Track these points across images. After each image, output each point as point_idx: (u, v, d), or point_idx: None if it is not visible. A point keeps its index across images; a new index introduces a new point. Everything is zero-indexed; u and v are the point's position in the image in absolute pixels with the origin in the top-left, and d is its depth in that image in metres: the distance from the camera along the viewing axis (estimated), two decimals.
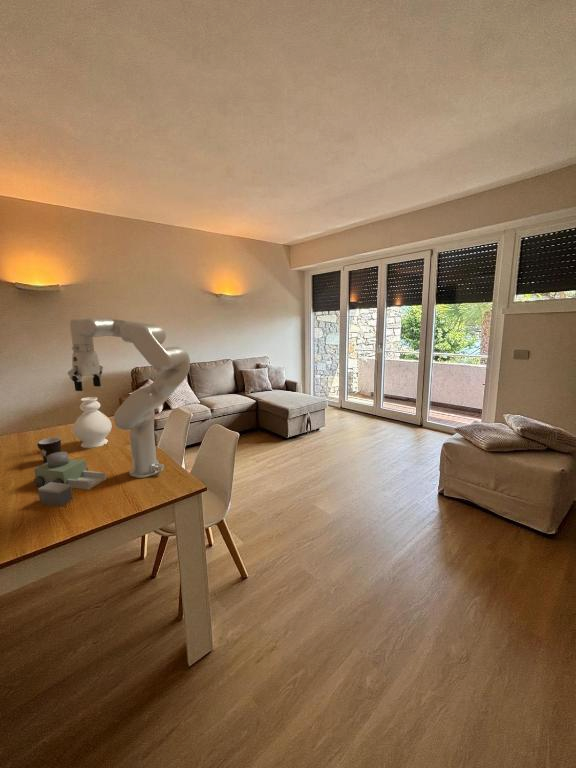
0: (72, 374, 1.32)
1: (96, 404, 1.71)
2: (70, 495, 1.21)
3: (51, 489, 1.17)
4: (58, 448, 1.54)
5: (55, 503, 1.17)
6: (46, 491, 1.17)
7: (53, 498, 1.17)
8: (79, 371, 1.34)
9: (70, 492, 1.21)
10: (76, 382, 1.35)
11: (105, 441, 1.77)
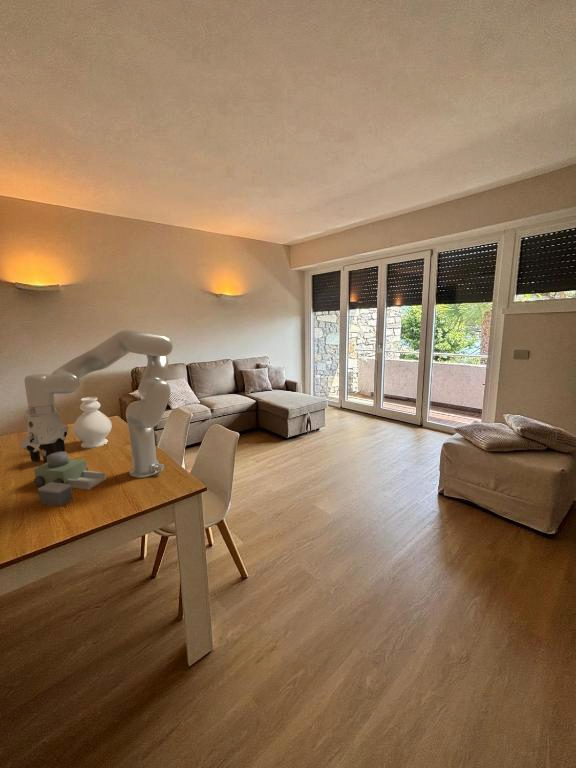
0: (26, 444, 1.08)
1: (96, 404, 1.71)
2: (70, 495, 1.21)
3: (51, 489, 1.17)
4: None
5: (55, 503, 1.17)
6: (46, 491, 1.17)
7: (53, 498, 1.17)
8: (36, 439, 1.10)
9: (70, 492, 1.21)
10: (32, 452, 1.10)
11: (105, 441, 1.77)
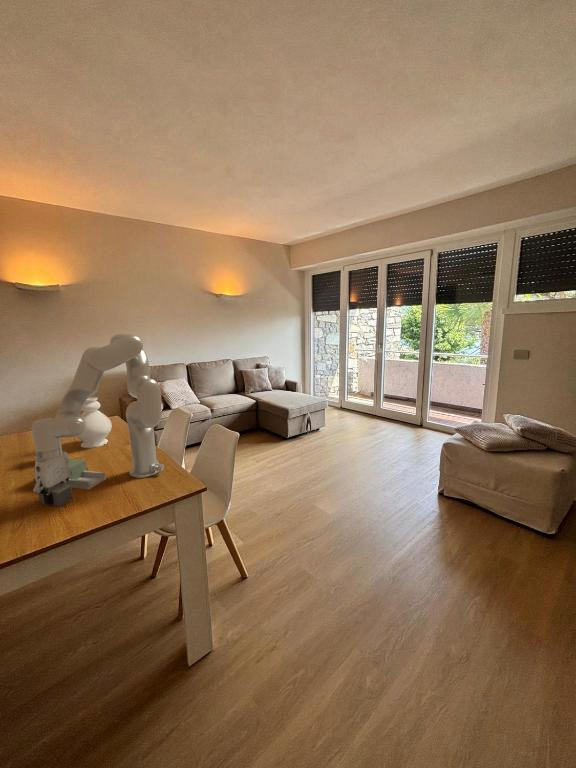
0: (39, 490, 1.13)
1: (96, 404, 1.71)
2: (70, 495, 1.21)
3: (51, 489, 1.17)
4: None
5: (55, 503, 1.17)
6: None
7: (53, 498, 1.17)
8: (43, 483, 1.13)
9: (70, 492, 1.21)
10: (45, 496, 1.16)
11: (105, 441, 1.77)
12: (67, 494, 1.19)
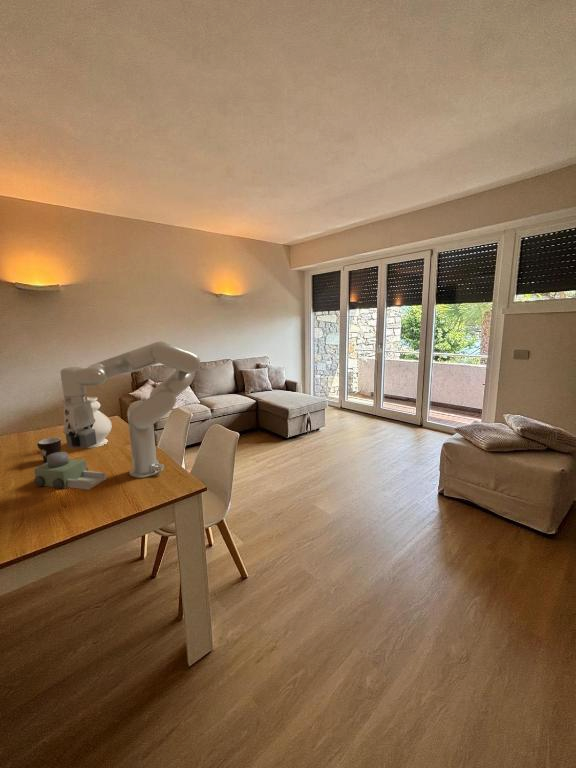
0: (68, 431, 1.23)
1: (96, 404, 1.71)
2: (94, 439, 1.31)
3: None
4: (58, 448, 1.54)
5: (81, 445, 1.28)
6: None
7: None
8: (71, 425, 1.23)
9: (94, 436, 1.31)
10: (73, 438, 1.26)
11: (105, 441, 1.77)
12: (92, 438, 1.30)
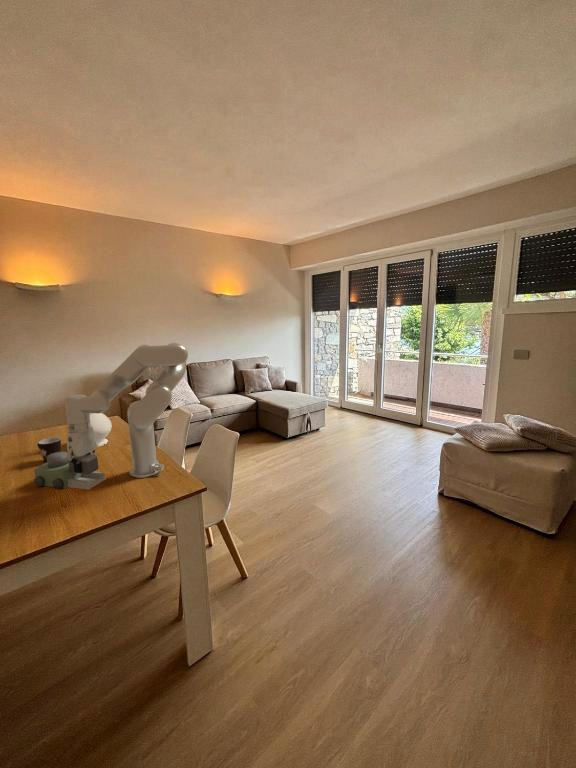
0: (70, 458, 1.25)
1: None
2: (96, 465, 1.33)
3: (80, 458, 1.29)
4: (58, 448, 1.54)
5: (83, 471, 1.29)
6: None
7: None
8: (74, 452, 1.25)
9: (96, 462, 1.33)
10: (75, 464, 1.28)
11: (105, 441, 1.77)
12: (94, 464, 1.32)
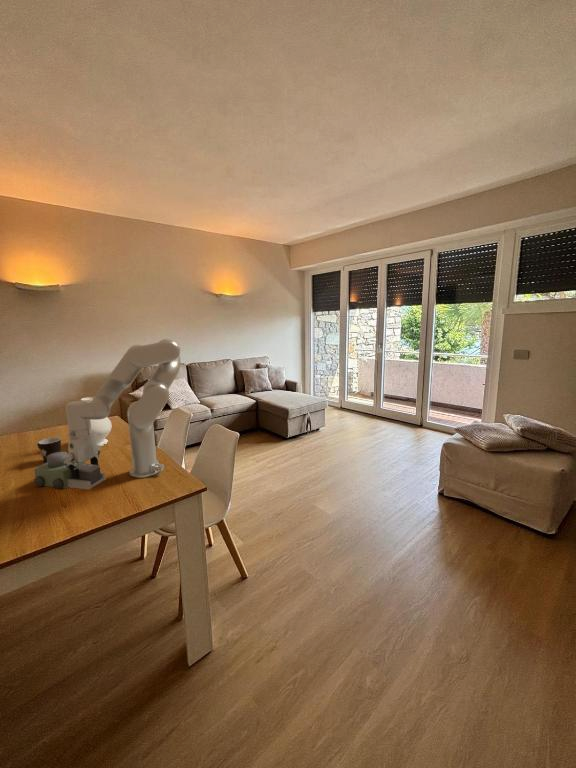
0: (68, 463, 1.24)
1: None
2: (99, 475, 1.34)
3: (83, 469, 1.30)
4: (58, 448, 1.54)
5: None
6: None
7: (84, 477, 1.30)
8: (76, 458, 1.26)
9: (99, 472, 1.34)
10: (73, 470, 1.27)
11: (105, 441, 1.77)
12: (97, 474, 1.33)
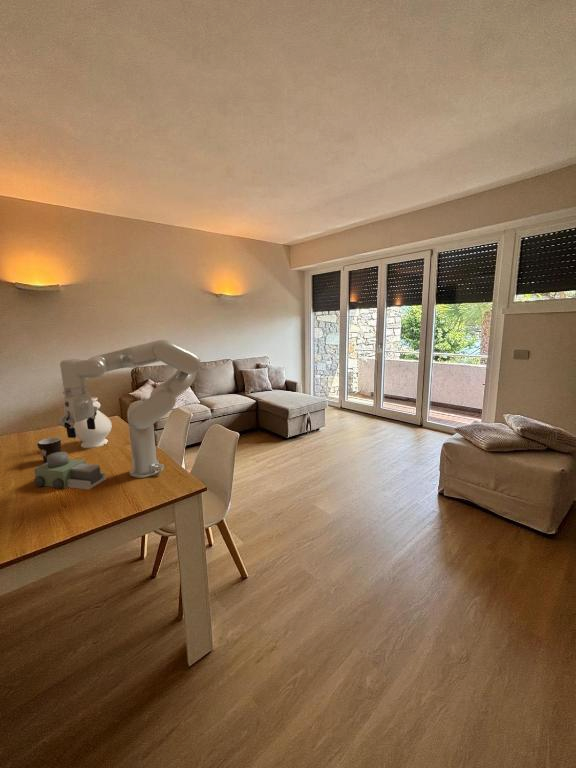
0: (64, 421, 1.22)
1: (96, 404, 1.71)
2: (99, 475, 1.34)
3: (83, 469, 1.30)
4: (58, 448, 1.54)
5: None
6: (78, 471, 1.31)
7: (84, 477, 1.30)
8: (72, 417, 1.23)
9: (99, 472, 1.34)
10: (69, 429, 1.24)
11: (105, 441, 1.77)
12: (97, 474, 1.33)
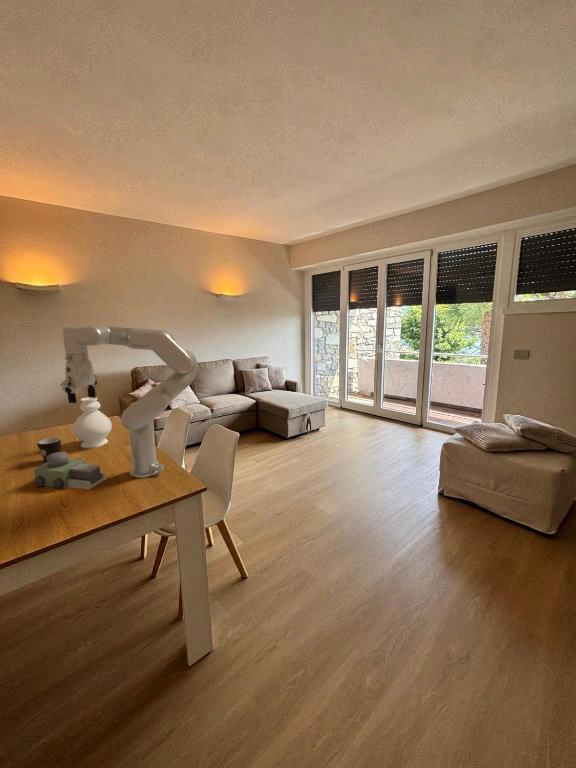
0: (65, 385, 1.25)
1: (96, 404, 1.71)
2: (99, 475, 1.34)
3: (83, 469, 1.30)
4: (58, 448, 1.54)
5: None
6: (78, 471, 1.31)
7: (84, 477, 1.30)
8: (73, 382, 1.27)
9: (99, 472, 1.34)
10: (70, 394, 1.27)
11: (105, 441, 1.77)
12: (97, 474, 1.33)
